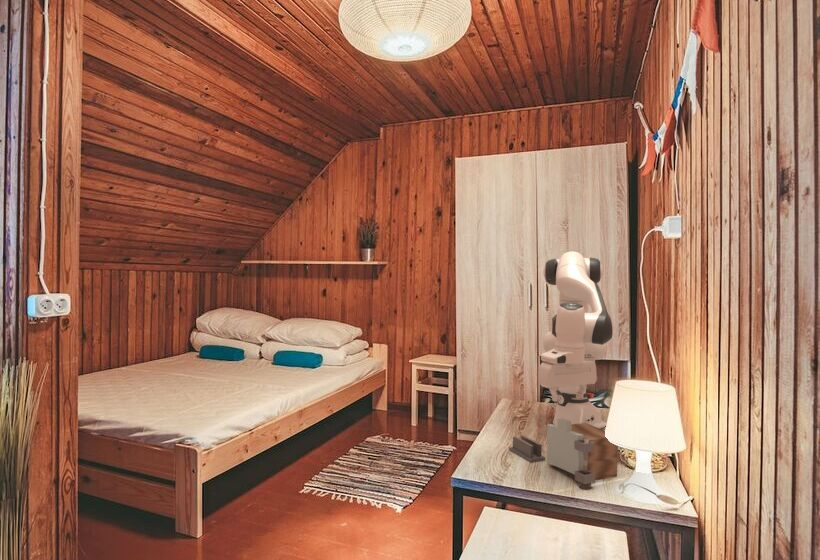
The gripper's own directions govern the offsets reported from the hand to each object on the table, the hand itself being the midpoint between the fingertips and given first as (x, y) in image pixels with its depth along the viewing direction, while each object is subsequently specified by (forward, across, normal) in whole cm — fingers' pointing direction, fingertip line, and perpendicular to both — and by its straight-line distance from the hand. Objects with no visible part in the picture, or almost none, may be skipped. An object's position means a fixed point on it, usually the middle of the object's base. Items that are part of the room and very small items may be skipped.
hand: (567, 399), depth 152 cm
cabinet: (+24, -6, +2) cm, 24 cm away
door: (+22, 0, +2) cm, 23 cm away
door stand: (+24, +2, -17) cm, 29 cm away
